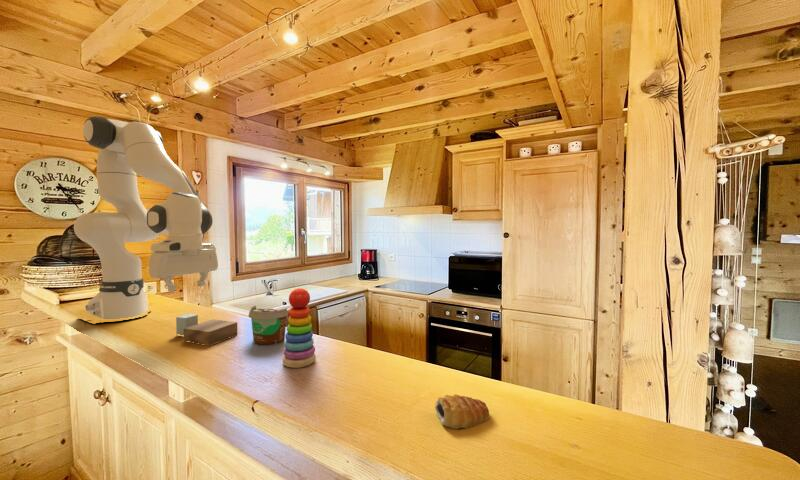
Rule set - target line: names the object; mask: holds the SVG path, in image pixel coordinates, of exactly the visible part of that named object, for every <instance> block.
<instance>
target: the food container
mask: <svg viewBox="0 0 800 480" xmlns="http://www.w3.org/2000/svg"><path fill="white" fill-rule="evenodd" d="M288 316H289V310H288V308H287V307H286V308H284V309H279V310H278V309H274V308H263V309H262V308H257V305H254V306H252V307H250V309H249V312H248V318H250V319H251V329H252V339H253V344H255V345H256V346H260V347H261V346H262V347H264V346H266V347H267V346H276V345H279V344H282V343H285V341H286V338H285V336H286V329H287V325H286V324H287V317H288Z"/></svg>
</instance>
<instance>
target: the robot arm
mask: <svg viewBox="0 0 800 480" xmlns="http://www.w3.org/2000/svg"><path fill="white" fill-rule="evenodd" d="M82 133H83V137H84V140H85V141H86V143H88V145H90V146H91V147H94V148H97V149H99V150H98V153H97V158H96V159H97V160H96V179H97V192H98V195H99V196H100V198H101V199H102V200H103V201H106V202H107V203H109V204H111V205H112V206H113V207H114V208H115V209H116V211H117V212H110V211H109V212H103V211H97V212H90V213H89V212H88V213H84V214H80V215H79V216H78V217H77V218H76V219H75V221H74V223H73V232H74V234H75V235H76V237H77V238H78V239H80V240H81V241H82V242H84V243H85V244H88V245H89V246H90V247H91V248H92V249H93V250H94V251H95V252H96V254H97V256H98V257H99V261H100V266H101V276H102V279H101V280H102V281H101V282H98V286H99V289H98V291H99V292H98V293H97V294H95V296H93V297H92V298H91V299H89V301H87V304H85V307H84V308H85V310H86V314H87V313H90V314H92V315H95V316H97V317H100V318H102V319H120V318H128V317H133V316H137V315H140V314H143V313H145V312H146V311H147V310H148V309H149V304H148V297H147V296H148V295H147V292H146V291H145V290H144V289H143V288H145V285H144V284H145V281H144V278H143V273H142V271H143V270H142V268H143V267H142V266H143V265H142V259H141V257H139V256H138V255H137V254H135V253H133V252H130V251H128V250H127V248H126V246H125V243H143V242H149V241H153V240H156V239H158V238H159V236H160V235H168V236H167V237H168V238H166V239H164V240H161V241H159V242H155V243H153V244H151V245H150V251H151V252H152V253H151V254H150V256H149V260H148V274H149V275H150V277H151V278H153V279H162V280H163V282H164V283H165V284H166V286H167V291H168V292H170V293H172V292H177V290H178V289H177V288H178V285H177V284H174V283H173V281H174V277H178V276H184V275H185V276H186V275H192V274H198V273H199V276H200V278H199V279H198V280H196V283H197V284H196V286H197V287H205V286H206V279H207V278H208V276H209V272H215V271H217V270H218V268H219V261H218V256H217V252H216V251H217V250H216V249H217V248H216V246H215V245H214V244H212V243H203V235H205V234H206V233H208V231H209V230H210V229H211V228H212V225H213V217H212V216H213V215H212V213H211V211H209V209H208V208H207V207H206V206H205V205H204V203H203V201H202V200H201V198H200V197H199V195H198V193H197V192H196V189H195V188H194V186H193V184H192V183H191V181H190V179H189V177H188V176H187V174H186V173H185V172H184V170H182V169H181V168H179V167H178V166H177V164H175V163H174V161H173V160H172V159H171V157H170V156H169V155H168V153H167V152H166V150H165V149H166V148H165V147H164V139H163V137H162V135H161V132H159V131H158V130H156V129H154V128H153V127H152V126H151V125H150V124H147V123H144V122H141V121H133V122H131V121H124V120H120V119H119V120H118V119H113V118H106V117H104V116H96V115H95V116H90V117H89V118H87V119H86V120H85V121H84V124H83V127H82ZM137 175H138V176H140V177H142V178H144V179H147V180H150V181H153V182H156V183H159V184H161V185H163V186H166V187H167V188H169V189H171V190H172V191H173V192H170V193H169V194H168V197H167V199H166V200H165V201H163V202H161V203H159V204H155V205H153V206H152V207H150V208H149V209H147V208H146V207H145V205H144V203H143V202H142V199H141V198H140V197H141V196H140V192H139V187H138V185H139V184H138V177H137Z"/></svg>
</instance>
